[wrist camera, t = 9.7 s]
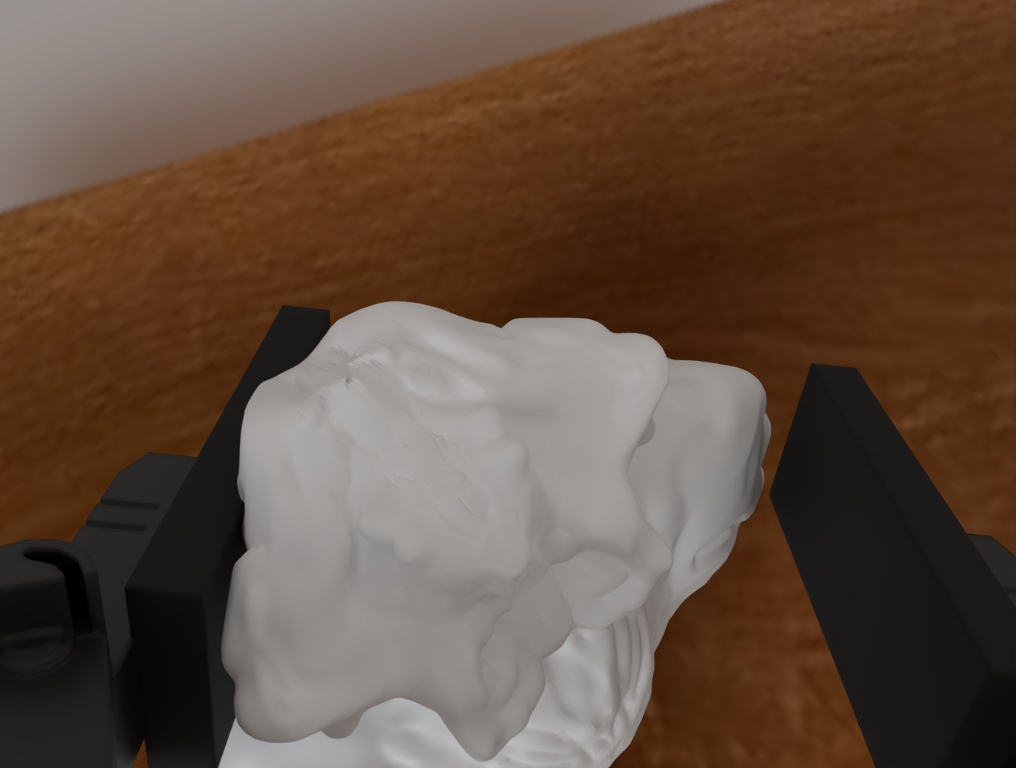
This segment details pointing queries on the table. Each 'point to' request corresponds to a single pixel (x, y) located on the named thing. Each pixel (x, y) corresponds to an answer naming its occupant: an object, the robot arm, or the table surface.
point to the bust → (474, 539)
